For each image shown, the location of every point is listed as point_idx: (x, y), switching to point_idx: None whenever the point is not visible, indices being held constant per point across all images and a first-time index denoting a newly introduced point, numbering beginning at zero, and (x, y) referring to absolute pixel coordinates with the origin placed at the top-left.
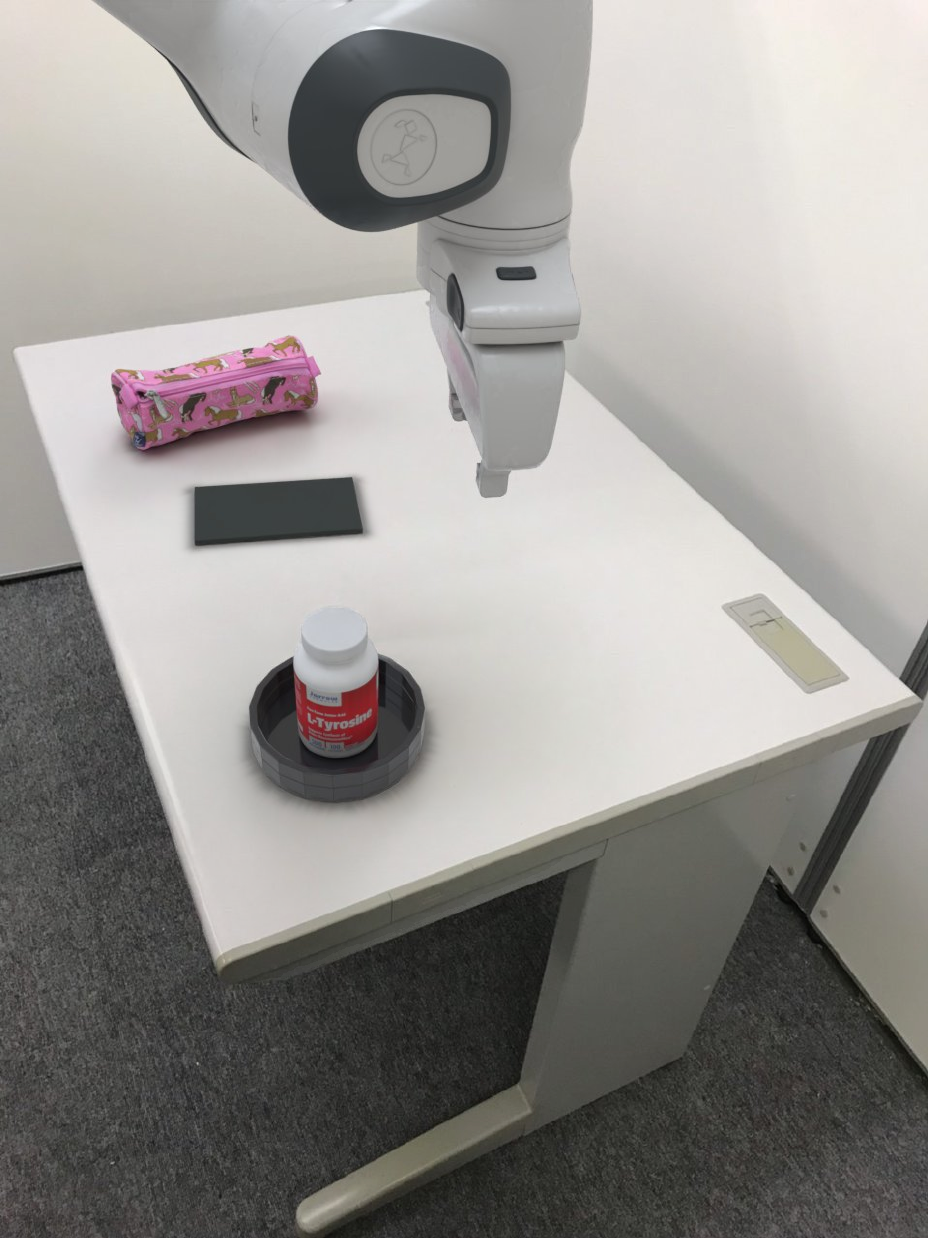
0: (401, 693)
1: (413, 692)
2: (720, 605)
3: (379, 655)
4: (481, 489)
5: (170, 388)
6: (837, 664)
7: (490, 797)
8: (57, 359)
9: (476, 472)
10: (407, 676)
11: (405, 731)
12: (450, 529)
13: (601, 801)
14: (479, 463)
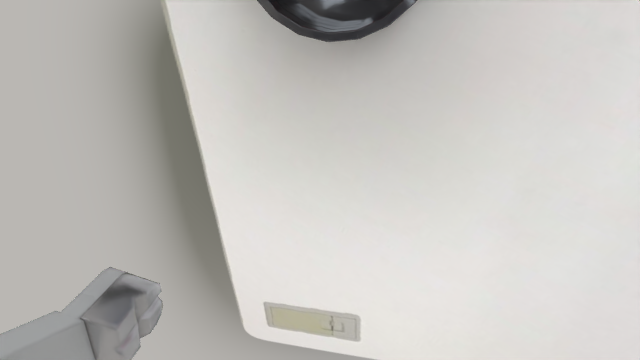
0: (361, 24)
1: (328, 31)
2: (360, 316)
3: (397, 13)
4: (95, 280)
5: None
6: (281, 329)
7: (224, 57)
8: None
9: (132, 305)
10: (350, 34)
11: (314, 8)
12: (605, 198)
13: (205, 139)
14: (115, 332)
